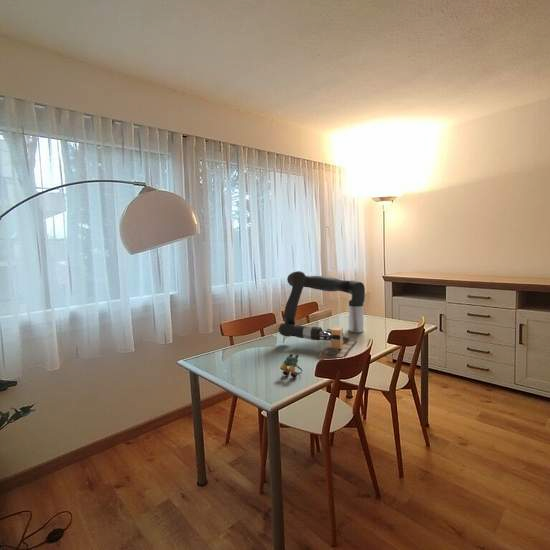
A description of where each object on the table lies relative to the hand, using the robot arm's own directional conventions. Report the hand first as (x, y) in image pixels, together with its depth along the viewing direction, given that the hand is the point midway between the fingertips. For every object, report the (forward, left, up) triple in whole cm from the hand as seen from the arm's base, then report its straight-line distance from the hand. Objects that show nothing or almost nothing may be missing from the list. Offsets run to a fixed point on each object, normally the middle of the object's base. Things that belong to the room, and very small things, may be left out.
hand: (341, 336), depth 177 cm
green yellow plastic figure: (+19, -36, -9) cm, 42 cm away
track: (-4, +1, -9) cm, 10 cm away
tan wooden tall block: (-2, -2, -6) cm, 7 cm away
